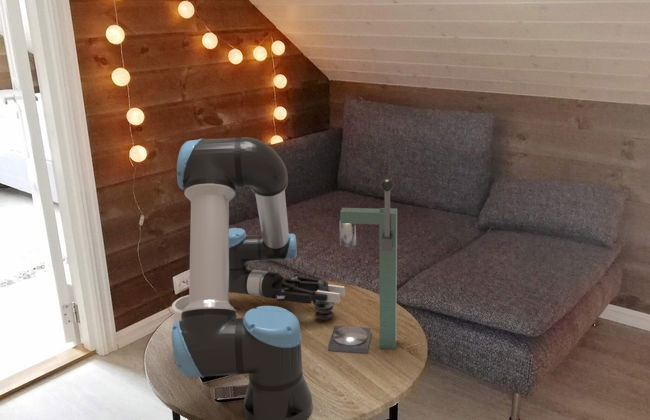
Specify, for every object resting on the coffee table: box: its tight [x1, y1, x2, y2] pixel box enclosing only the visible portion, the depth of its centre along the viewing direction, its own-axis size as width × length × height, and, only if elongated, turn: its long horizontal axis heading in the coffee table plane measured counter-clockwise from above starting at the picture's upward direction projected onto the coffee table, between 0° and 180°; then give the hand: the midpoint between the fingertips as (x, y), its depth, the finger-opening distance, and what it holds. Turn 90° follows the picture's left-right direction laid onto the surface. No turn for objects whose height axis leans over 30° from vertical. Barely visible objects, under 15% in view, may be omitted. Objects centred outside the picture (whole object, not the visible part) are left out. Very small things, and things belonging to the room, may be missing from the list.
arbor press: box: [327, 178, 398, 354], centre depth 144 cm, size 10×17×46 cm, turn 79°
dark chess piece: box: [313, 276, 335, 320], centre depth 162 cm, size 6×6×12 cm
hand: (341, 294), depth 160 cm, fingers closed on dark chess piece, 4 cm apart
